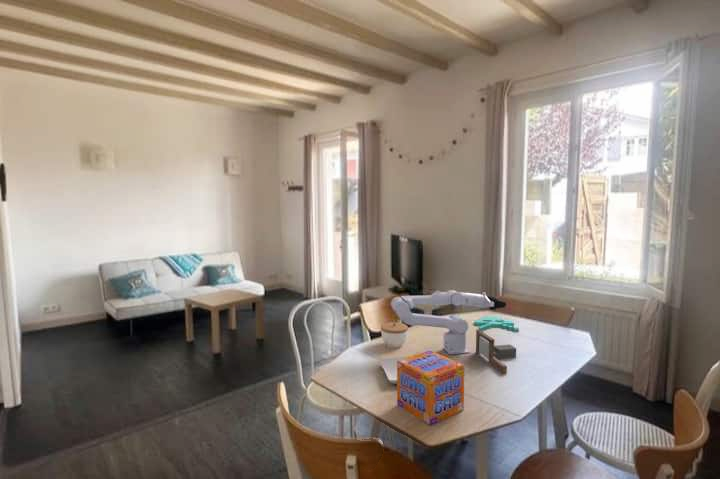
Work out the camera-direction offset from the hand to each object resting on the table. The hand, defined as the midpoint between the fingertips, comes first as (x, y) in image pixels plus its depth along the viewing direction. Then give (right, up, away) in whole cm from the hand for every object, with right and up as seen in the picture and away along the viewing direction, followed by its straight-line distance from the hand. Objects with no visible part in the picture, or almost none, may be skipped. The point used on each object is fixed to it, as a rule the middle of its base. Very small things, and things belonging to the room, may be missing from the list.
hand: (501, 303), depth 182 cm
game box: (-41, -27, -50) cm, 70 cm away
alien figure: (+9, -18, +35) cm, 41 cm away
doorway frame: (-10, -23, -14) cm, 28 cm away
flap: (-10, -21, -9) cm, 25 cm away
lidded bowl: (-48, -21, +7) cm, 53 cm away
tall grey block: (-2, -22, -7) cm, 23 cm away
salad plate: (-45, -25, -24) cm, 57 cm away
